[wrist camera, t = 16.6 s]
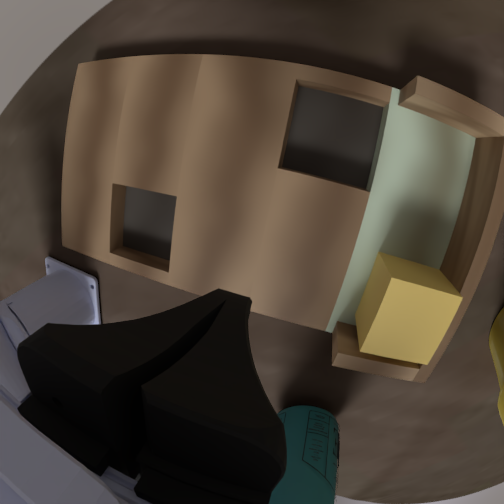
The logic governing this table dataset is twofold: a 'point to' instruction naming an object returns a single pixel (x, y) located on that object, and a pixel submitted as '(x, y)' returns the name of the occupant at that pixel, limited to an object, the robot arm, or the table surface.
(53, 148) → the table surface
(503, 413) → the plant pot
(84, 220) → the trap board
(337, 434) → the beverage bottle
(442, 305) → the mustard block
